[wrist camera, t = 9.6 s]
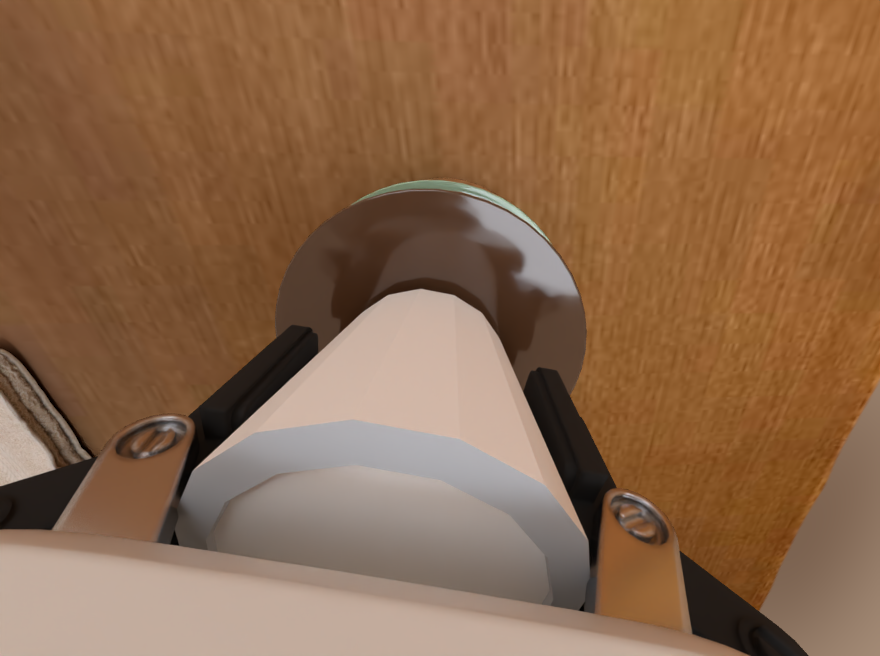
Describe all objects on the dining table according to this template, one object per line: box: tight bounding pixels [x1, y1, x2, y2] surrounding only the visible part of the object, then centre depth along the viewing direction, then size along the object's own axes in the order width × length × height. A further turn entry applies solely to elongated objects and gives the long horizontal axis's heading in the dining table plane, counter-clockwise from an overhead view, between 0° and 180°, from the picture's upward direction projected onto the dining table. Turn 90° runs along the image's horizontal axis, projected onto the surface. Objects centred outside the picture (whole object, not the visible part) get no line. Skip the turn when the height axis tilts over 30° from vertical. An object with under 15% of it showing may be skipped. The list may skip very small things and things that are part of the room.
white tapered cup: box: [175, 289, 590, 611], centre depth 8 cm, size 7×7×7 cm
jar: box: [275, 178, 587, 395], centre depth 17 cm, size 12×12×12 cm
